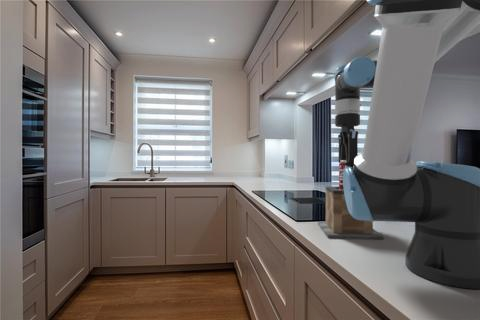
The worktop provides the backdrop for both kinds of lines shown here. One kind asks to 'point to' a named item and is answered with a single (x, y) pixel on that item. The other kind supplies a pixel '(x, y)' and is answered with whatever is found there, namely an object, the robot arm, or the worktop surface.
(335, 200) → the tan stepped shape
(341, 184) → the soda can
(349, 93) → the robot arm
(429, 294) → the worktop surface
